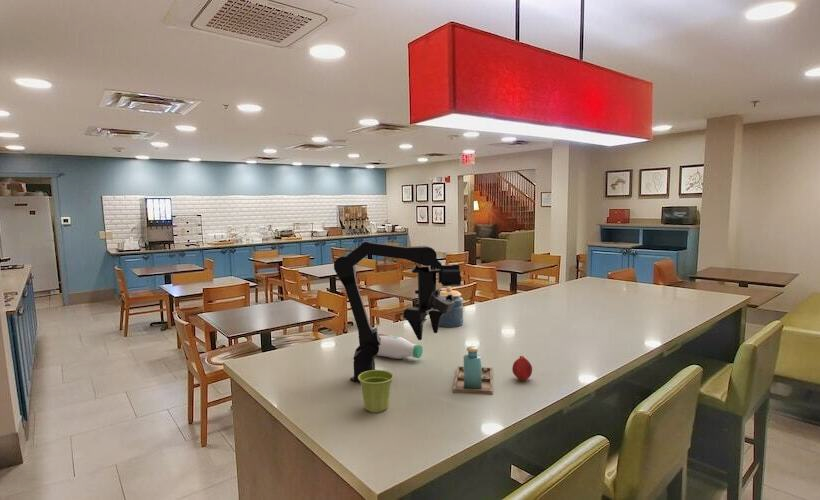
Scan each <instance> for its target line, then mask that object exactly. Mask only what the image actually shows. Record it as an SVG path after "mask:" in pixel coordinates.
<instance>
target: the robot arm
mask: <svg viewBox="0 0 820 500" xmlns="http://www.w3.org/2000/svg"><path fill="white" fill-rule="evenodd" d="M368 255H369V256H370V255H371V256H377V257H385V258H392V259H401V260H406V261H410V262H413V263H415V266H414V267H412V268H411V271H410V272H411V273H412V274H417V289H415V290H414V292H415V293H414V294H417V302H416V303H415V306H410V307H408V308H405V309H403V311H402V317H403V319H405V321H407V322H408V324H409V325H410V327H411V329H412V331H413V333H414V334H415V337H416V338H417V340H418V341H422V340H423V329H424V323H425V322H426V321H427V320H428V319H427V318H426V317H427V316H429V320H430V323H431V329H432V331H433V333H434V334H437V333H438V332H439V328H440V326H439V325H440V321H441V318H442V316H443V315H444V314H446V313H448V312H451V311H452V308H453V306H455V297H454V296H453V295H451V294H450V295H448V296H446V297H445V296H441V295H440V291H441V290H440V289H437V283H438V284H441V287H460V286H461V285H462V275H461V270H460V264H459V263H453V264H442V262H441V261H439V260H438V259H437V252H436V251H435V249H434V248H433V247H431V246H430V245H415V246H414V245H413V246H401V245H396V244H395V245H393V244H386V243H378V242H372V241H368V240H366V241H363V242H362V243H360V245H359V246H358V247H357V248H355V249H353V250H352V251H351V252H350V253H348V254H343V255H340V256H338V258H337V259H336V260H335V261H334V264H333V269H334V272H335V273H336V276H337V277H338V279H339V281H340V282H341V284H342V285H343V287H344V289H345V293H346V296H347V300H348V303H349V304H350V308H351V312H352V315H353V317H354V321H355V323H356V327H357V331H358V332H357V333H358V343H359V344H358V345H359V346H357V347H356V348H355V351H354V356H353V358H352V359H353V376H352V377H349V378H350V381H352V382H357V383H360V381H359V379H358V376H359V375H360V374H361V373H363V372H366V371H370V370H376V363H375V357H376V356H378V355H377V354H378V352H379V345H380V343H381V338H380V337H379V335H378V334H379V331H378V330H379V329H378V327H375V328H373V327H372V325H371V323H370V320H369V317H368V314H367V311H366V308H365V304H364V301H363V298H362V295H361V291H360V288H359V285H358V280H357V272H356V271H357V269H356V265H357V264H358V263H359V262H361V260H363V259H364V258H366V257H367V256H368ZM419 265H422V266H419ZM430 266H431V267H432V268H434V269H430V268H429V267H430ZM427 313H428V315H427Z"/></svg>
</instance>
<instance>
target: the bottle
mask: <svg viewBox="0 0 820 500" xmlns="http://www.w3.org/2000/svg"><path fill="white" fill-rule="evenodd" d="M466 351H467V354H466V355H465V354H464V355H463V367H464V388H466V389H478V390H479V389H481V388H482V364H483V362H482V360H483V359H482V358H483V357H482V356H481V355H480V354H478V351H479V347H478V346H473V345H471V346H467V347H466Z"/></svg>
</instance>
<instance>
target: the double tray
mask: <svg viewBox="0 0 820 500" xmlns="http://www.w3.org/2000/svg"><path fill="white" fill-rule="evenodd" d="M493 388H494V386H493V367H482V388H481V389H479V390H478V389H466V388H464V365H463V366H462V365H461V366H460V365H459V366H457V368H456V373H455V377H454V383H453V388H452V392H453V393H462V394H476V395H478V394H479V395H493V394H494V393H493V390H494V389H493Z"/></svg>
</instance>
